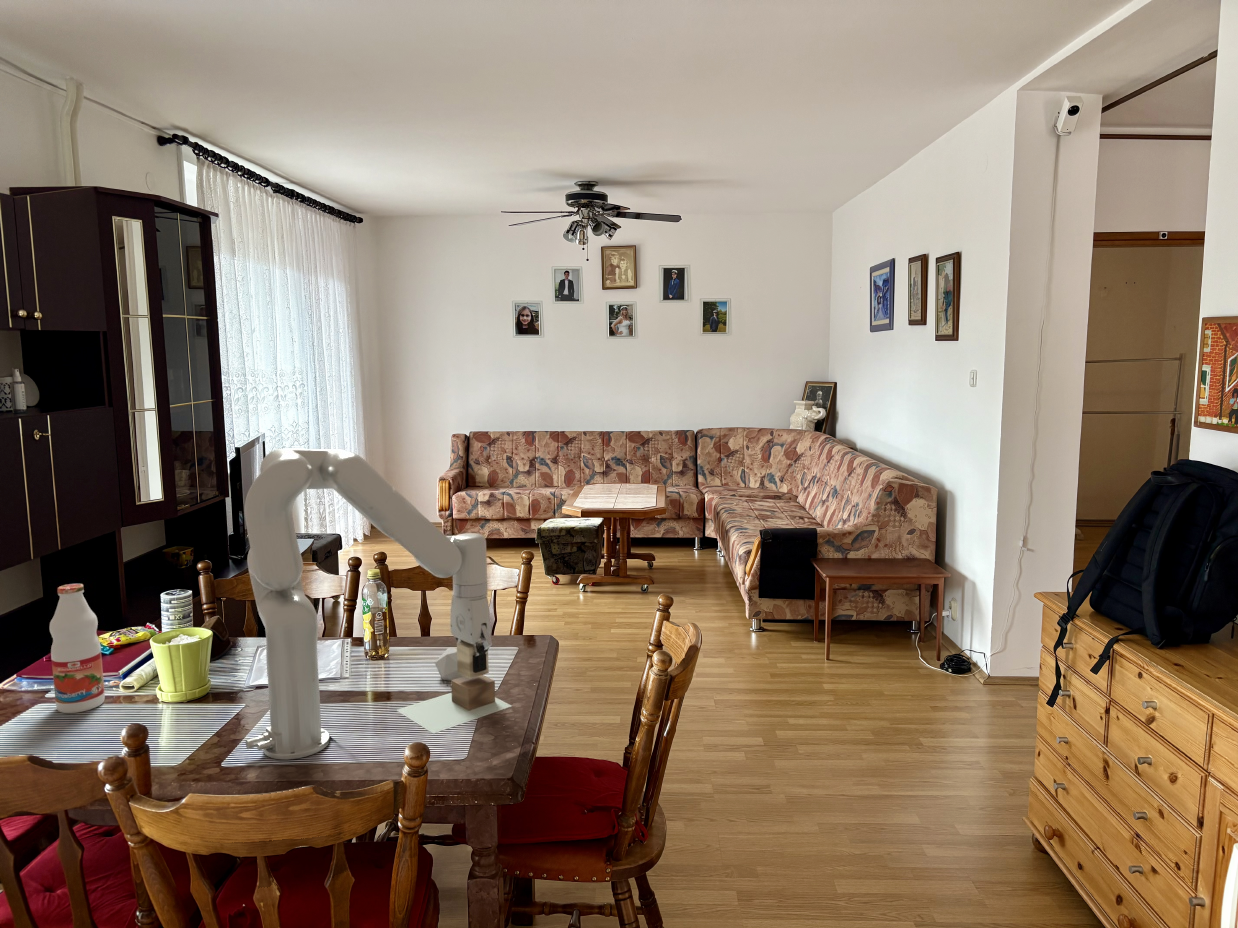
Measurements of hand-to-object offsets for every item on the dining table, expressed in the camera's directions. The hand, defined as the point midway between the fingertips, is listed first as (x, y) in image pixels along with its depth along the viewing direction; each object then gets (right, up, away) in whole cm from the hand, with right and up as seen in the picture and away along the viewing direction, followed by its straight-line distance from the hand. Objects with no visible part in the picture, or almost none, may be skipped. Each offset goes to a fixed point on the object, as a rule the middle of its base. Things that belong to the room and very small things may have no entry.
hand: (472, 666), depth 187 cm
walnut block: (0, -8, +1) cm, 8 cm away
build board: (-4, -10, -2) cm, 10 cm away
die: (-7, -8, +16) cm, 19 cm away
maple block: (0, -1, 0) cm, 1 cm away
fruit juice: (-90, -10, +2) cm, 90 cm away
